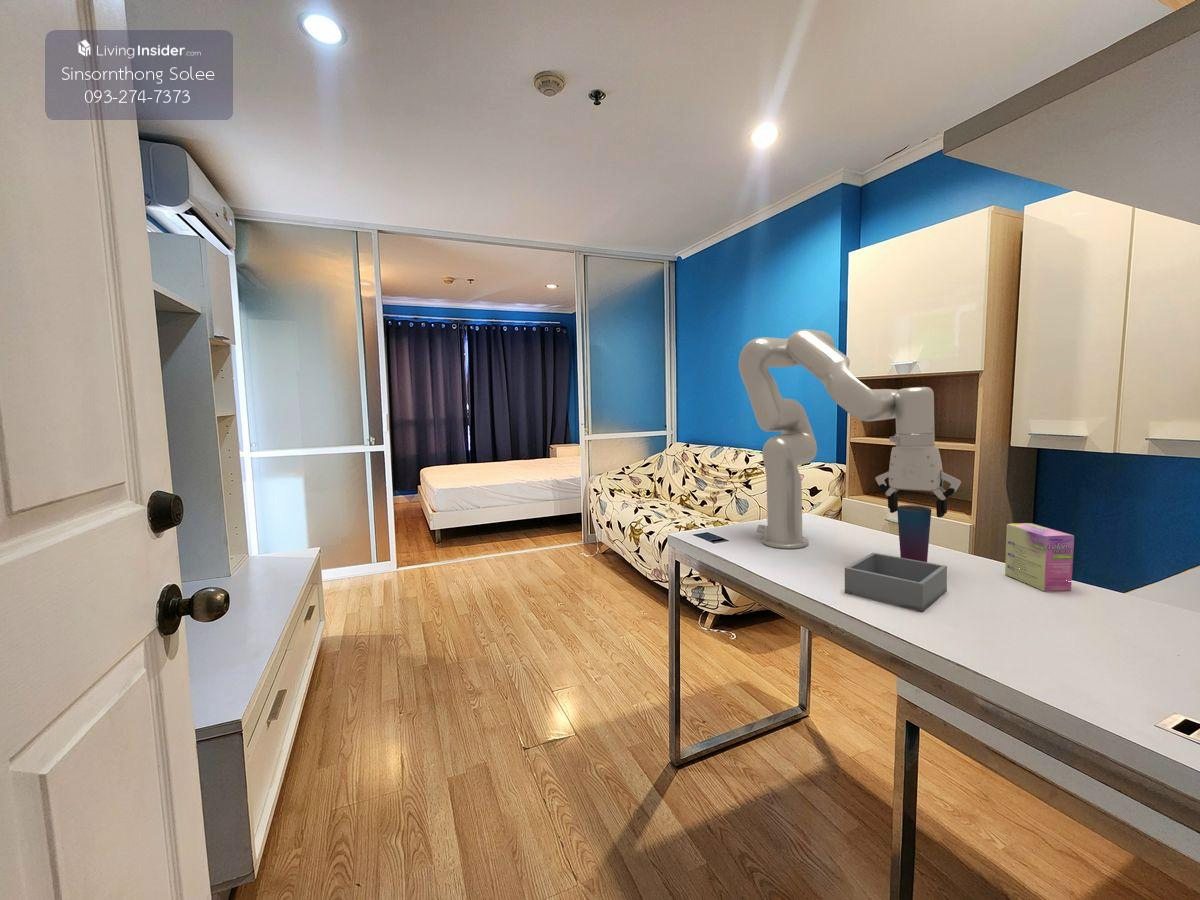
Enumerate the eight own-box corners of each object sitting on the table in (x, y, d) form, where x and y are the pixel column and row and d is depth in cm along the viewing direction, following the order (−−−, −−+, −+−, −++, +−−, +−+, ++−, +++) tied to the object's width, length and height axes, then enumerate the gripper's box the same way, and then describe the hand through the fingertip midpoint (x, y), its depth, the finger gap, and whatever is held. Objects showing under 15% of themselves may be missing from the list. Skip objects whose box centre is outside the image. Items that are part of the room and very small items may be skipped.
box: (1072, 591, 102) (1074, 534, 101) (1044, 592, 102) (1046, 535, 101) (1030, 574, 112) (1031, 522, 111) (1004, 575, 112) (1005, 523, 111)
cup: (937, 574, 115) (938, 510, 114) (908, 575, 115) (908, 511, 113) (918, 565, 122) (919, 504, 120) (890, 566, 122) (890, 505, 120)
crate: (844, 592, 107) (844, 567, 106) (872, 575, 116) (872, 552, 116) (922, 612, 96) (922, 584, 95) (946, 591, 105) (947, 565, 104)
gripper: (868, 442, 120) (870, 512, 121) (954, 442, 106) (955, 521, 108) (881, 439, 124) (883, 507, 126) (964, 439, 111) (965, 515, 112)
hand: (916, 514), depth 117 cm, fingers open, 9 cm apart
